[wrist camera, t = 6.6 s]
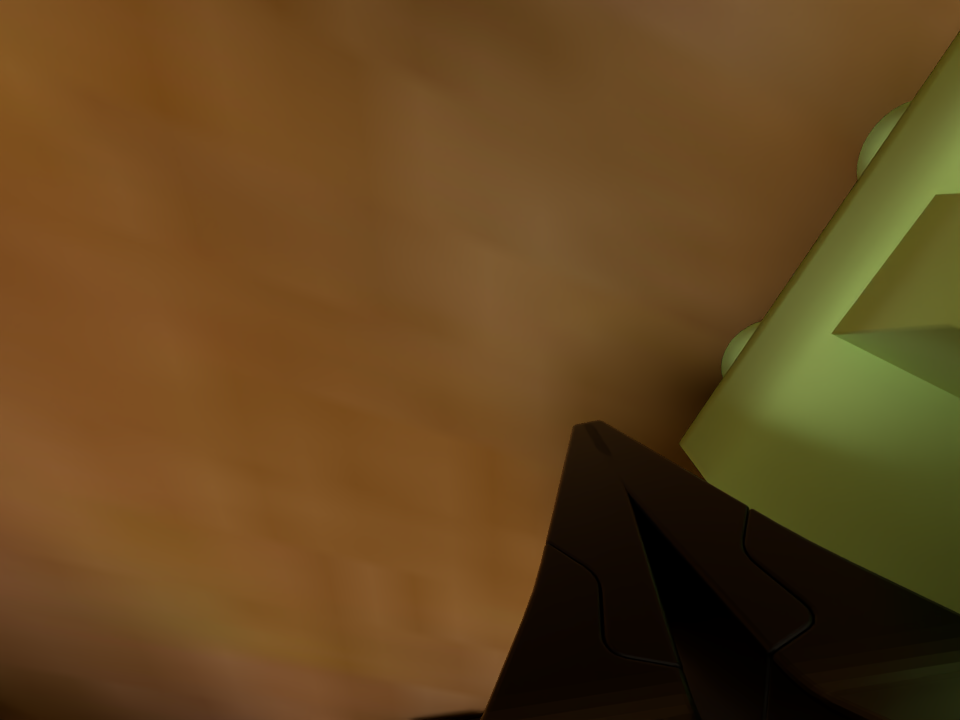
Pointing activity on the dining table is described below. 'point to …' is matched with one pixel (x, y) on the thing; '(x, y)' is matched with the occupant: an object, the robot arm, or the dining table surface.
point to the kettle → (862, 366)
